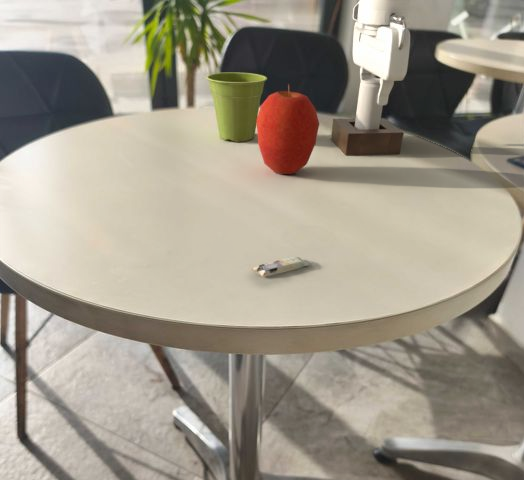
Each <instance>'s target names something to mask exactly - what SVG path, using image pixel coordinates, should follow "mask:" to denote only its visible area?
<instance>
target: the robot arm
mask: <svg viewBox="0 0 524 480" xmlns="http://www.w3.org/2000/svg"><path fill="white" fill-rule="evenodd" d="M412 5H413V0H359V1H358V2H357V3H356V4H355V5H354V7H353V9H352V10H353V11H352V20H353V21H355V22H354V26H353V33H352V36H353V37H352V60H353V64H355V65H356V66H358V67H359V77H360V79H359V80H360V83H361V82H362V81H361V79H363V78H372V74H373V75H374V76H376V77H377V78H380V84H381V85H380V89H379V93H377V96H376V103H377V104H378V105H383V106H387V105H388V103H389V96H390V94H391V91H392V89H393V87H394V85H395V82H398V81H399V82H400V81H403V80H405V77H406V75H407V72H408V67H409V58H410V49H411V32H410V30H409V29H408V26H407V25H409V24H410V18H411V11H412Z"/></svg>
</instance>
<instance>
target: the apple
mask: <svg viewBox="0 0 524 480" xmlns="http://www.w3.org/2000/svg"><path fill="white" fill-rule="evenodd" d="M287 88H288V89H287V90H280V91H276V92H273V93H271V94H269V95H268V96H267V98H266V99H265V100H264V101H263V102H262V103H261V105H260V107H259V111H258V117H257V120H256V121H257V123H256V135H257V145H258V148H259V151H260V155H261V157H262V161H263V163H264V165H266V167H268V168H269V169H270V170H271V171H272V172H273V173H275V174H280V175H292V174H295V173H297V172H299V171H300V170H301V169H302V168H304V167H305V166H306V165H307V164H308V163H309V159H310V157H311V155H312V153H313V150H314V148H315V146H316V143H317V139H318V133H319V127H320V120H319V116H318V113H317V109H316V108H315V106H314V105H313V103H312V101H311V99H309V97H308V96H307V95H305V94H303V93H299V92H294V91H290V90H291V89H290V84H288V85H287Z"/></svg>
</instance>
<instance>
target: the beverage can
mask: <svg viewBox="0 0 524 480" xmlns="http://www.w3.org/2000/svg"><path fill="white" fill-rule="evenodd" d="M361 81H362V82H361ZM380 85H381V84H380V77H371V78H363V79H360V83H359V90H358V97H357V106H356V113H355V119H356V120H355V127H354V128H356V129H357V130H377V129H379V126H380V120H381V118H382V112H383V106H384V105H378V104H377V103H376V96H377V93H379V89H380Z"/></svg>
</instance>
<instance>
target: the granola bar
mask: <svg viewBox="0 0 524 480" xmlns="http://www.w3.org/2000/svg"><path fill="white" fill-rule="evenodd" d="M307 266H310V263H308V262H306V261H305V260H303V259H302V258H301V257H298V256H290V257H287V258H282V259H277V260H274V261H270V262H267V263H262V264H259V265H257V266H255V267H253V268H251V270H252V271H254V272H255V273H256V274H257V275H258V276H259V277H264V278H267V277H269V276H274V275H279V274H282V273H286V272H289V271H294V270H297V269H301V268H303V267H307Z"/></svg>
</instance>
